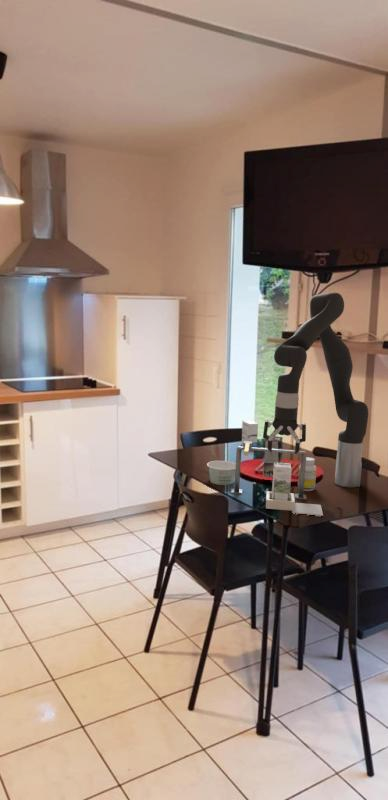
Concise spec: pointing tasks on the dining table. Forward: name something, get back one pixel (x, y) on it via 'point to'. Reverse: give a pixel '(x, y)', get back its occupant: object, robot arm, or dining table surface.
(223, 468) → the food container
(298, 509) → the pad
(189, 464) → the dining table surface
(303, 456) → the latch rail
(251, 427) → the ink box
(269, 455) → the coffee box
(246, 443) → the latch
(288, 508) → the socket
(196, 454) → the dining table surface
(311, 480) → the pill bottle
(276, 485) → the syrup box
